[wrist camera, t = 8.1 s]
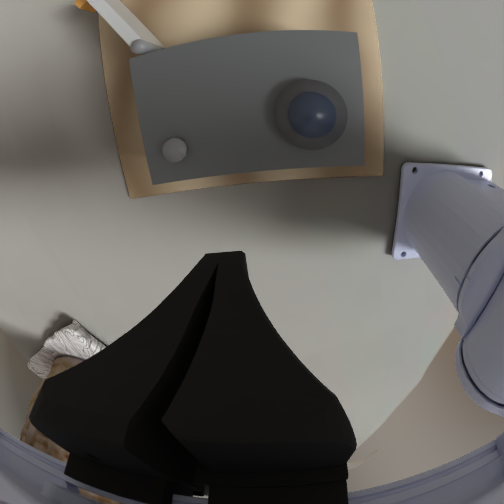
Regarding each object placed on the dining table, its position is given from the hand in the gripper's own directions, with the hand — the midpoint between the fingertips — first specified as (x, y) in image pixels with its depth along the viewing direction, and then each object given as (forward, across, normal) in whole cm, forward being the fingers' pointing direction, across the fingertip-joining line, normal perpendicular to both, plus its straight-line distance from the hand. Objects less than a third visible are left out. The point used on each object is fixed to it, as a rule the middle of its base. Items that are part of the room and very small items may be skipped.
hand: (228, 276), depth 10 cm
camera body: (+10, -1, -6) cm, 12 cm away
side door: (+10, +6, -12) cm, 17 cm away
